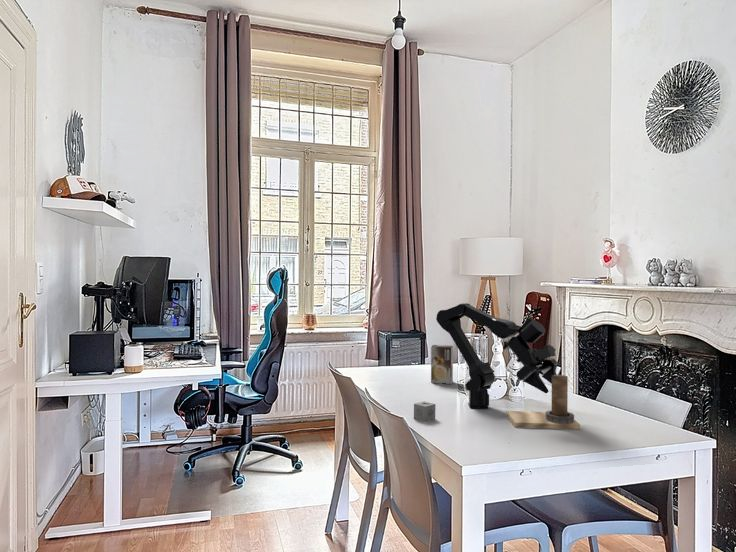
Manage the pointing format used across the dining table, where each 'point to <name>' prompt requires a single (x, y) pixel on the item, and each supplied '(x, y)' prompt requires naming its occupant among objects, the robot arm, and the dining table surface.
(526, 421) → the oak socket board
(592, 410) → the dining table surface
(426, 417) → the dice cube
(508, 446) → the dining table surface
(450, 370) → the coffee box
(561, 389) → the walnut post
